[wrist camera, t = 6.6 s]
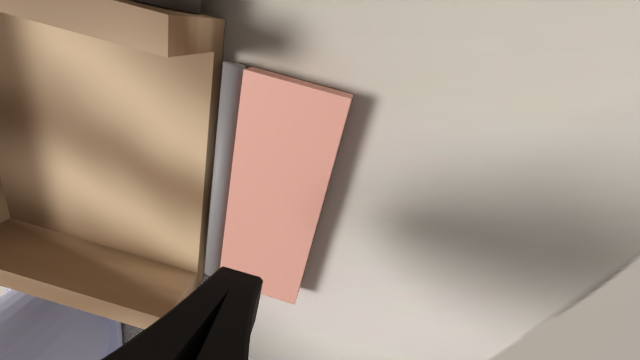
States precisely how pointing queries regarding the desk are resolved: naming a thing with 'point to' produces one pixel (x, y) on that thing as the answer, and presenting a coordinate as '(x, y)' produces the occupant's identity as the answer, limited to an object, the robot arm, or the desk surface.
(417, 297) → the desk surface
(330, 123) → the tailgate
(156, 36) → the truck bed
